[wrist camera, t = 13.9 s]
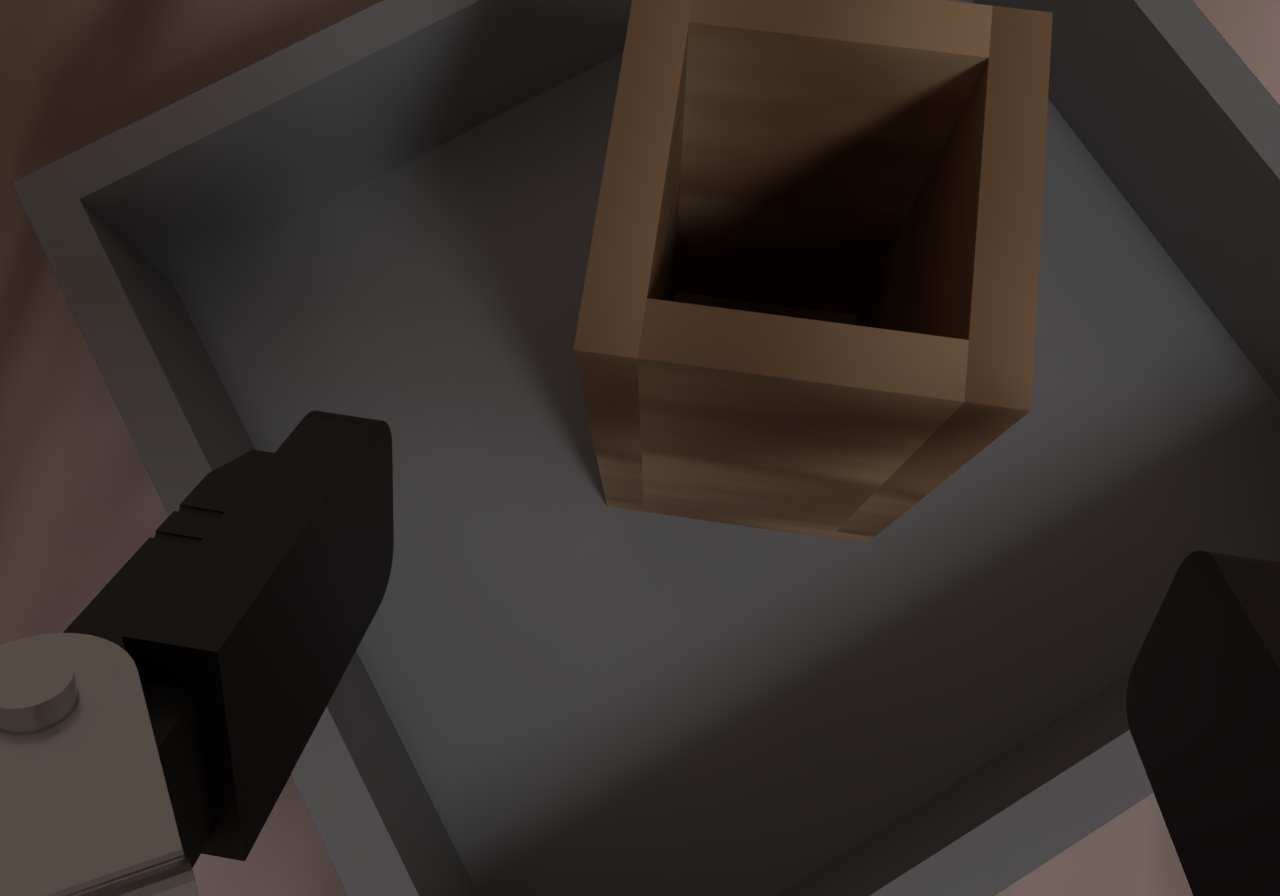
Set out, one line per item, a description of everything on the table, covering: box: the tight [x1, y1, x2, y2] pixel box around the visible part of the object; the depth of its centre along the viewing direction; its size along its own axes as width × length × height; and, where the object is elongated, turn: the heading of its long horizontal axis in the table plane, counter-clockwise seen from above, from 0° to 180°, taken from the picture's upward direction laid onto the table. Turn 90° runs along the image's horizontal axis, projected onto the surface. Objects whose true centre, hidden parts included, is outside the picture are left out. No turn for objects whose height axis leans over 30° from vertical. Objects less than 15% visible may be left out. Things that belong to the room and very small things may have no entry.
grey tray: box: [12, 0, 1280, 896], centre depth 22 cm, size 22×20×5 cm
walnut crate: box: [573, 0, 1053, 543], centre depth 18 cm, size 6×6×10 cm
